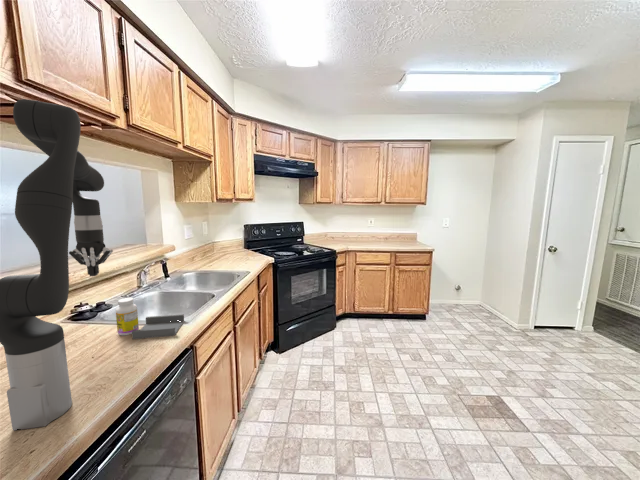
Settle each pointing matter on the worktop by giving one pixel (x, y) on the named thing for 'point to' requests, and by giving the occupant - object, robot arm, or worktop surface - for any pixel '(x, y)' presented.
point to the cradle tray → (159, 326)
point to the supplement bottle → (126, 316)
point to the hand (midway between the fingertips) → (93, 275)
